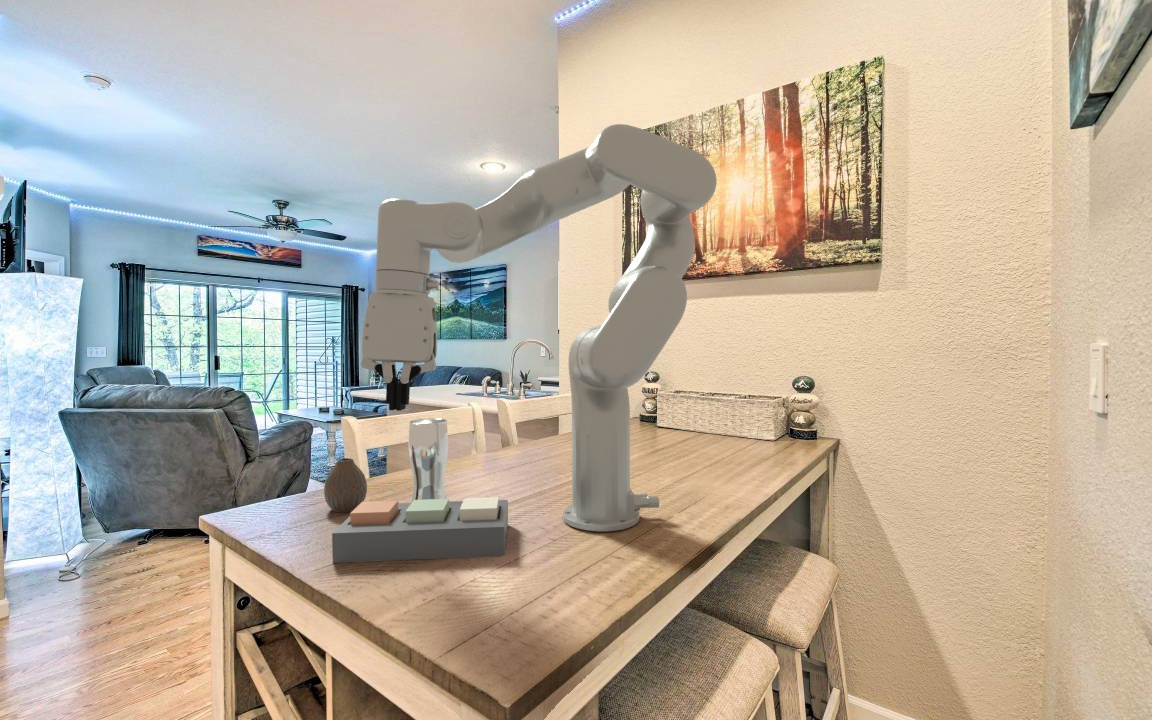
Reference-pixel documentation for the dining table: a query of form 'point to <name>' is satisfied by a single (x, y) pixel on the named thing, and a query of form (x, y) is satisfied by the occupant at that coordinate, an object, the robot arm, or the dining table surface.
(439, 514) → the sage button
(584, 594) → the dining table surface
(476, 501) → the cream button
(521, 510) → the dining table surface
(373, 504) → the terracotta button
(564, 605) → the dining table surface
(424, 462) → the beer glass
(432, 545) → the button panel
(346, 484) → the vase
